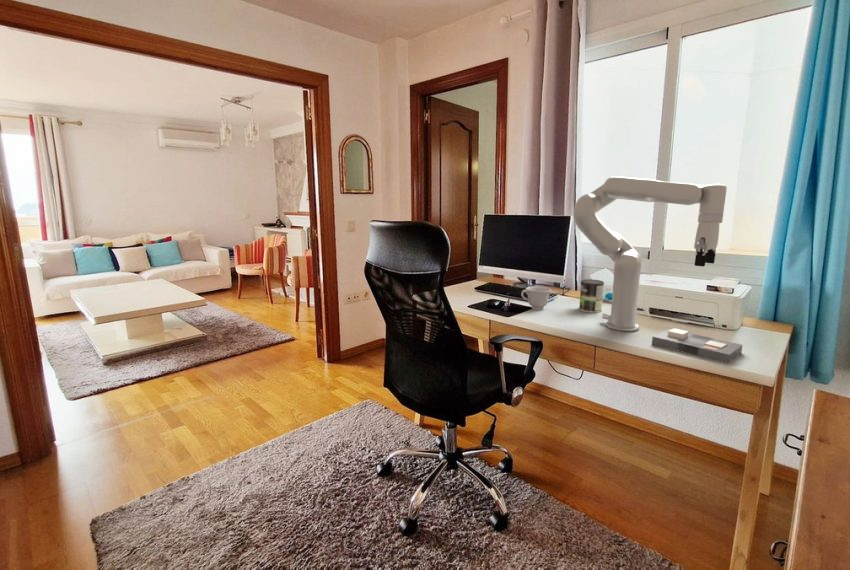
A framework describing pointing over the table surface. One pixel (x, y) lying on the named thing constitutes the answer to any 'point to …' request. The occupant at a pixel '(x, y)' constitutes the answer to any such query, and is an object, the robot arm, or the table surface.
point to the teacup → (537, 296)
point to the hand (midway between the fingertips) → (704, 264)
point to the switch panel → (698, 346)
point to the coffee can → (591, 295)
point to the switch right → (715, 344)
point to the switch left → (678, 334)
